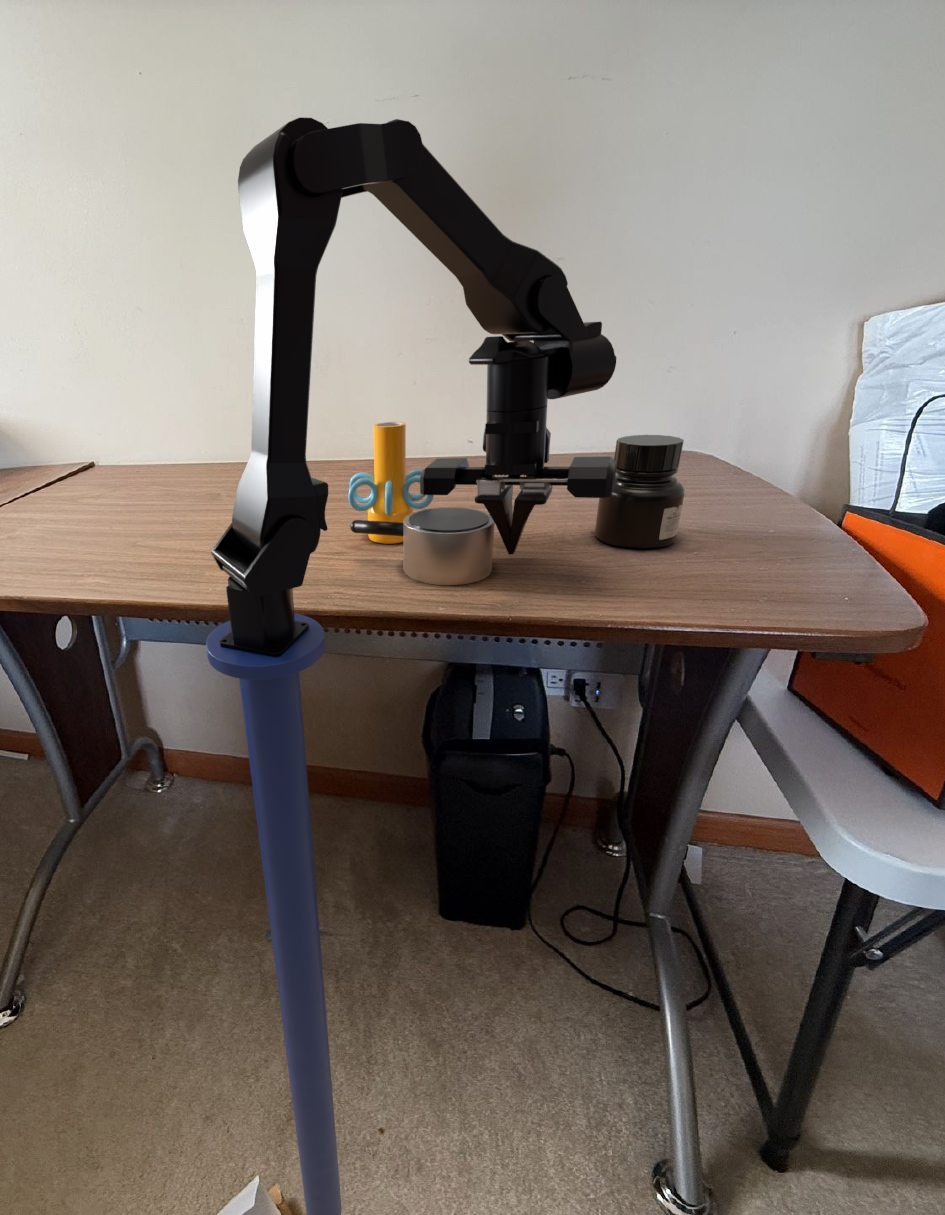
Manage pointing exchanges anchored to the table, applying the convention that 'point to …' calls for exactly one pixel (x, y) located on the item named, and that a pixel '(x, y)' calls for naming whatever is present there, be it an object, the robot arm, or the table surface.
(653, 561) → the table surface
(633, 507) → the ink bottle
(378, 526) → the pot
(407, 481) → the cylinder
